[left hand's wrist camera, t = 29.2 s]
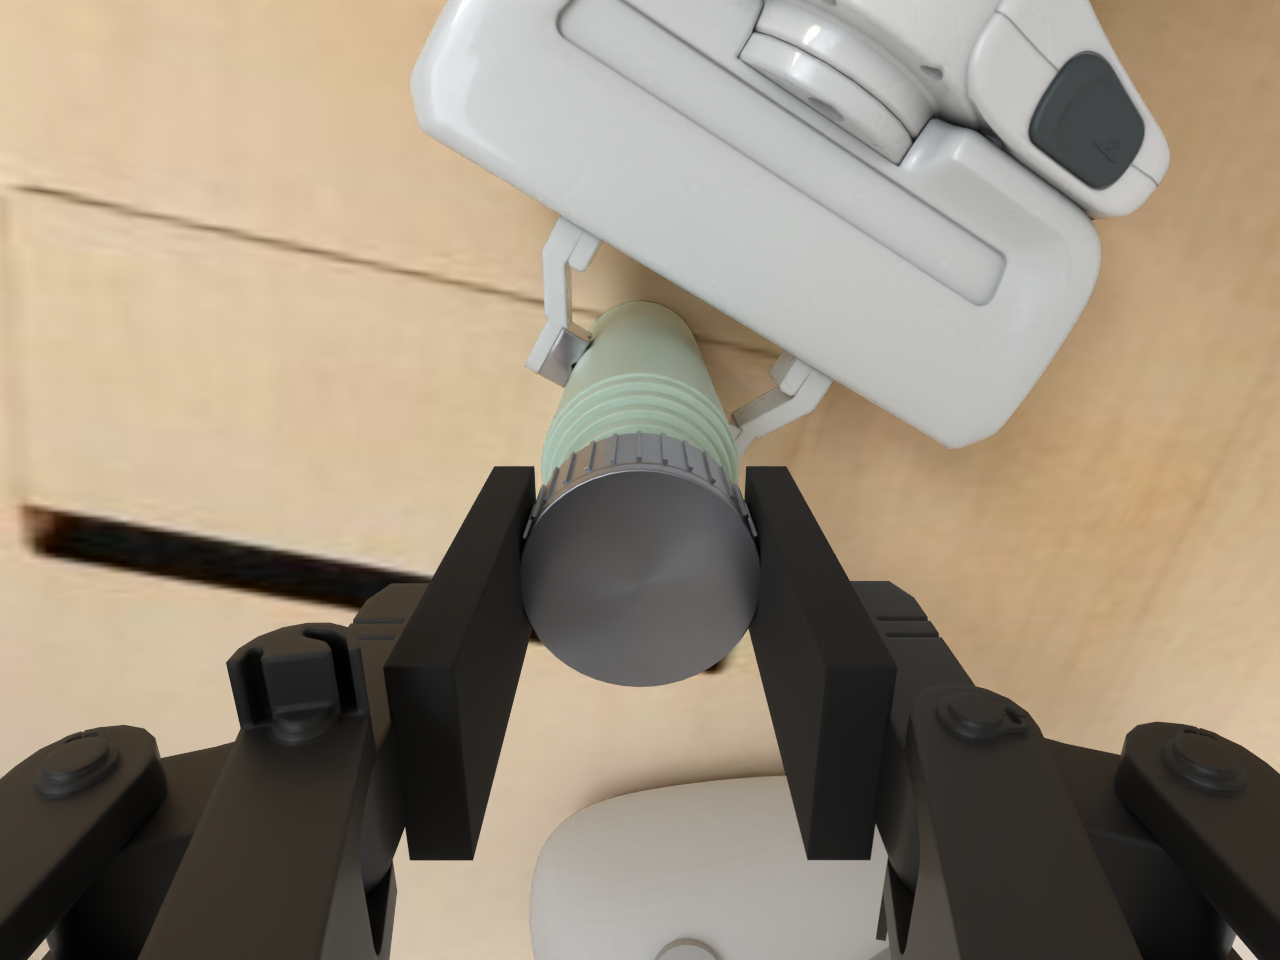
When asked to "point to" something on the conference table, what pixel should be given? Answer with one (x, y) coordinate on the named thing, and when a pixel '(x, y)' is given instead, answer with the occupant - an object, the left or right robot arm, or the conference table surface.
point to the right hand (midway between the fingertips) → (627, 420)
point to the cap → (640, 561)
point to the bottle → (640, 389)
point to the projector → (701, 881)
